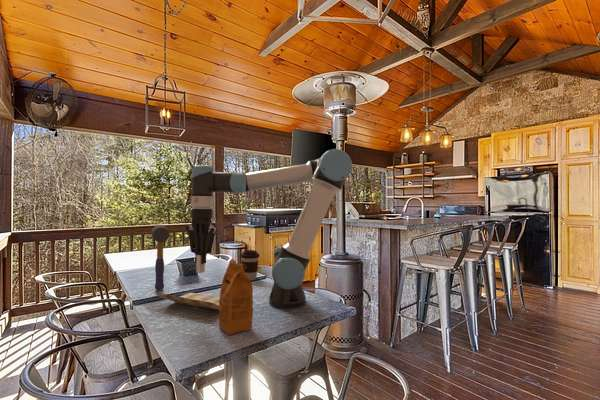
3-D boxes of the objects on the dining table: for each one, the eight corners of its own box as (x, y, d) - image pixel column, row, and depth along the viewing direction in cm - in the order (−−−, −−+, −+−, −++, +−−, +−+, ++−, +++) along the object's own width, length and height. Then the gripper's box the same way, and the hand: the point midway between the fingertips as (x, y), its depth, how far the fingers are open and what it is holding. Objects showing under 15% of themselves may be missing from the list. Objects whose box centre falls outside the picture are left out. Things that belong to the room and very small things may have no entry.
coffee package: (243, 318, 111) (244, 257, 111) (255, 331, 100) (256, 263, 100) (215, 323, 106) (216, 259, 106) (225, 337, 96) (226, 266, 96)
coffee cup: (239, 277, 170) (239, 249, 170) (257, 276, 173) (257, 249, 173) (241, 281, 160) (241, 252, 161) (260, 280, 163) (260, 252, 163)
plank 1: (196, 305, 122) (197, 302, 123) (181, 300, 115) (182, 297, 115) (173, 301, 127) (174, 298, 128) (157, 296, 120) (158, 293, 120)
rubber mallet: (169, 292, 140) (170, 226, 140) (151, 294, 137) (152, 226, 137) (166, 285, 151) (167, 224, 151) (149, 287, 148) (150, 224, 148)
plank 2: (223, 310, 117) (224, 307, 118) (209, 306, 110) (210, 302, 110) (198, 306, 122) (199, 302, 122) (183, 301, 115) (184, 297, 115)
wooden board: (238, 304, 126) (238, 299, 126) (224, 311, 118) (224, 306, 118) (190, 296, 136) (190, 291, 136) (174, 302, 128) (174, 297, 128)
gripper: (180, 207, 113) (179, 272, 113) (209, 208, 108) (207, 276, 108) (195, 207, 120) (193, 268, 120) (222, 208, 115) (221, 272, 115)
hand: (200, 272), depth 114 cm, fingers closed
